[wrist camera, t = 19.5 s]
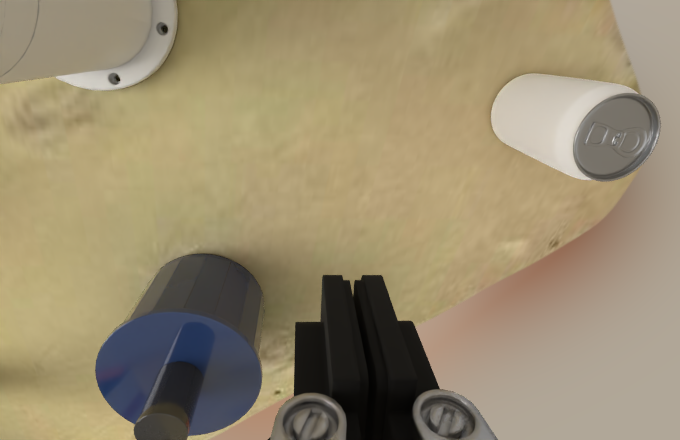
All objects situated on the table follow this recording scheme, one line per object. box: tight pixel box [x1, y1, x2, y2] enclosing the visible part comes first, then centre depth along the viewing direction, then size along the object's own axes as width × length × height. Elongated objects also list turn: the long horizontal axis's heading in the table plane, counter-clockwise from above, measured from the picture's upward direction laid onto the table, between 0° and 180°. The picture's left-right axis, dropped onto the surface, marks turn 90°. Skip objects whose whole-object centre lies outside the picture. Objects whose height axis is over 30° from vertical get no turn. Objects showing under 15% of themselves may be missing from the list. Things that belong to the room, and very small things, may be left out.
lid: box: [95, 308, 262, 440], centre depth 31 cm, size 13×13×6 cm
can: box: [491, 73, 661, 181], centre depth 32 cm, size 6×6×12 cm
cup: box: [125, 254, 265, 355], centre depth 38 cm, size 12×12×10 cm
